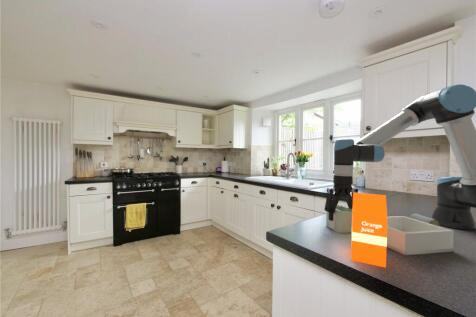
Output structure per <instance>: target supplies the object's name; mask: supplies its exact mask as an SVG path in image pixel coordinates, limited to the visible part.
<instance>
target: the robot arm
mask: <svg viewBox="0 0 476 317" xmlns="http://www.w3.org/2000/svg"><path fill="white" fill-rule="evenodd" d="M474 109H476V90H475V89H474V88H473V87H471V86H469V85H465V84H459V83H458V84H455V85H449V86H445V87H444V88H440V89H439V90H438V89H437V90H436V91H432V92H429V93H426V94H424V95H422V96H420V97H419V98H417V99H415V100H414V101H413V102H411V103H410V104H408V105H406V106H405V107H403V108H402V109H401V110H399V114H397V115H395V116H394V117H392V118H391V119H389V120H388V121H386V122H384V123H383V124H382V125H380V126H378V127H377V128H376V129H374V130H372V131H371V132H370V133H368V134H366V135H365V136H363V137H362V138H360V139H358V140H357V141H356V142H355V140H354V139H353V138H338V139H336V140H335V141H334V148H333V151H334V152H333V174H334V175H333V177H332V178H333V180H332V181H333V187H331V188H329V187H327V188H326V199H325V204H324V209H323V210H324V211H325V212H326V213H327V212H329V220H330V228H329V229H331V228H332V229H331V230H333V229H335V221H336V214H335V213H334V212H335V209H336V207H337V206H338V204H339V202H340V200H341V199H342V198H345V202H346V205H347V207H348V208H350V209H353V192H354V193H359V189H358V188H355V187H353V186H352V185H354V184H353V182H354V180H353V179H354V177H353V176H354V162H355V163H356V162H357V163H358V162H360V163H361V162H362V163H380V162H382V161H383V160H384V158H385V155H386V154H385V147H383V144H385V143H386V142H389V140H391V139H392V138H394V137H396V136H398V135H399V134H401V133H402V132H403V131H405V130H406V129H408V128H409V127H415V126H417V125H418V124H421V123H422V122H425V121H428V120H432V119H433V120H434V121H435V123H436V124H437V125H439V126H442V128H443V130H444V133H445V134H446V137H447V139H448V142H449V145H450V148H451V150H452V152H453V155H454V157H455V160H456V163H457V165H458V168H459V171H460V173H461V176H440V177H439V178H438V179H437V184H436V207H435V209H434V211H433V214H432V215H431V218H432V219H434V220H436V221H437V222H438V223H439V225H440V226H444V227H448V228H453V229H459V230H467V231H468V230H471V231H472V230H473V231H474V230H476V221H475V218H474V215H473V213H472V208H474V209H476V127H475V125H474V123H473V120H472V118H473V116H474V115H475V114H476V113H475V110H474Z"/></svg>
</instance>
